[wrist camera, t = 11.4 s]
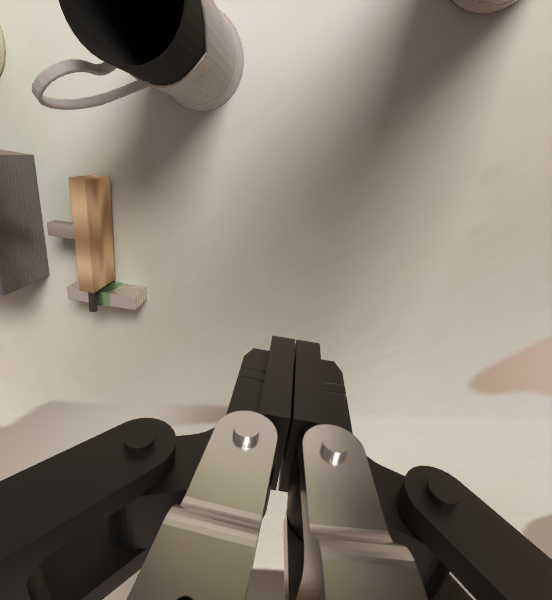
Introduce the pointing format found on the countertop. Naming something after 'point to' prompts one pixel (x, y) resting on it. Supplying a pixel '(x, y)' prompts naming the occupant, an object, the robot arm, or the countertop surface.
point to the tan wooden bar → (90, 233)
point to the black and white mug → (152, 50)
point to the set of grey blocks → (38, 237)
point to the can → (2, 51)
